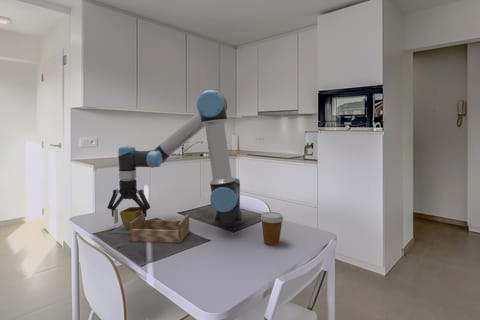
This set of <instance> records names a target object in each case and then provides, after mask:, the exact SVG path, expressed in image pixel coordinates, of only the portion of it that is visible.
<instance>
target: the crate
mask: <svg viewBox="0 0 480 320" xmlns="http://www.w3.org/2000/svg"><path fill="white" fill-rule="evenodd" d="M189 232H190V214H186V215H185V216H183V218H182V219H181V220H175V219H174V220H172V219H171V220H169V219H146V217H145V213H143V214H141V215H140V216H138V217H137V218H136V219H134V220H133V221H131V222H130V234H129V241H130V242H143V243H144V242H145V243H146V242H148V243H149V242H150V243H178V244H179V243H180V244H181V243H182V242H183V241H184V239H185V237H186V236H187V234H188V233H189Z"/></svg>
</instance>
